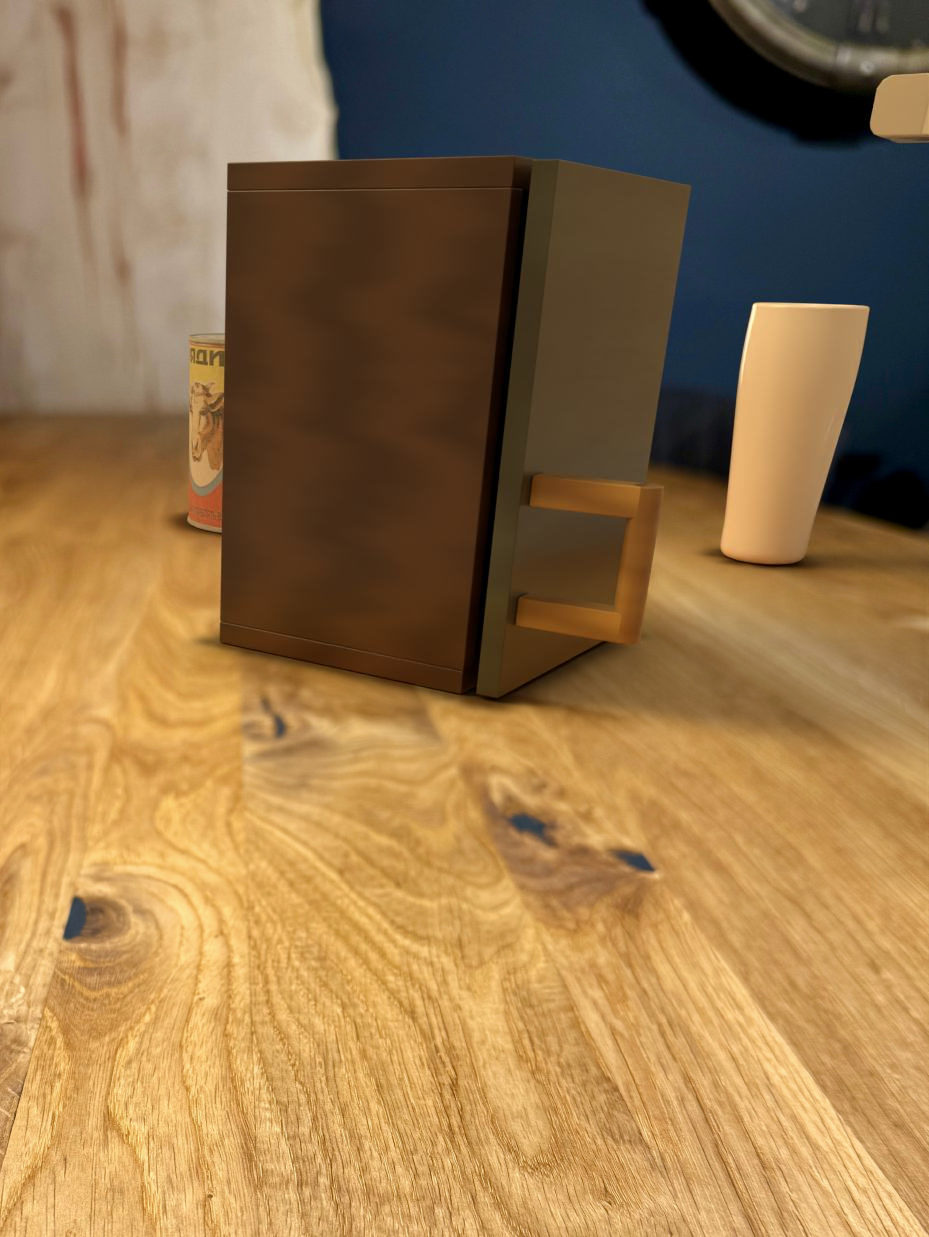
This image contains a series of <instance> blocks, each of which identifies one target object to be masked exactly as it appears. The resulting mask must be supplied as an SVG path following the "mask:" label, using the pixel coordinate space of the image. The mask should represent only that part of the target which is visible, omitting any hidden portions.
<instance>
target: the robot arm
mask: <svg viewBox="0 0 929 1237" xmlns="http://www.w3.org/2000/svg"><path fill="white" fill-rule="evenodd" d="M872 106H873V108H872V111H871V116H870V121H869V127H870V130H871V132H872V134H873V135H875V136H878V137H880V138H883V139H886V140H890V141H891V142H894V143H897V144H913V143H915V144H916V143H917V144H918V143H919V144H920V143H921V144H922V143H923V144H924V143H925V144H926V143H929V72H921V73H905V74H903V73H902V74H891V75H889V76H887V77H886V78H883V79H882V81H881V82H880V83H879V85H878V86H877V87H876V91H875V96H874V101H873V105H872Z"/></svg>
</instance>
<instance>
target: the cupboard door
mask: <svg viewBox="0 0 929 1237" xmlns="http://www.w3.org/2000/svg"><path fill="white" fill-rule="evenodd" d="M691 190H692V185H690V184H684V183H680V182H675V181H669V180H664V179H660V178H655V177H649V176H644V175H639V174H636V173H635V174H634V173H631V172H630V173H629V172H624V171H620V170H615V169H609V168H604V167H600V166H594V165H589V164H584V163H579V162H575V161H569V160H564V159H560V158H549V159H548V158H547V159H545V158H543V159H542V158H541V159H540V158H539V159H538V160H533V164H532V173H531V183H530V192H529V201H528V211H527V220H526V230H525V239H524V249H523V258H522V267H521V277H520V286H519V296H518V305H517V315H516V324H515V333H514V343H513V352H512V362H511V371H510V381H509V390H508V399H507V409H506V418H505V428H504V437H503V447H502V456H501V465H500V475H499V484H498V494H497V503H496V512H495V522H494V531H493V541H492V550H491V560H490V569H489V578H488V588H487V597H486V607H485V616H484V626H483V635H482V644H481V654H480V663H479V673H478V682H477V686H476V693H475V694H476V695H479V696H483V697H489V698H494V699H498V698H500V697H502V696H504V695H506V694H508V693H510V692H511V691H514V690H515V689H517V688H519V687H521V686H523V685H524V684H526V683H528V682H530V681H532V680H533V679H536V678H538V677H540V676H541V675H543V674H545V673H547V672H548V671H550V670H552V669H555V668H557V667H558V666H560V665H561V664H563V663H566V662H567V661H569V660H571V659H573V658H574V657H576V656H578V655H581V654H582V653H583V652H586V651H587V650H589V649H591V648H593V647H595V646H597V645H599V644H600V643H602V642H609V643H614V644H620V645H636V644H638V643H640V641H641V636H642V630H643V624H644V617H645V611H646V605H647V600H648V591H649V586H650V580H651V573H652V567H653V561H654V555H655V548H656V543H657V537H658V530H659V524H660V517H661V511H662V505H663V499H664V492H665V486H663V485H660V484H657V483H648V482H647V476H648V471H649V464H650V457H651V451H652V445H653V444H652V443H653V439H654V431H655V425H656V418H657V413H658V412H657V411H658V405H659V399H660V392H661V386H662V379H663V373H664V365H665V360H666V353H667V347H668V340H669V335H670V334H669V333H670V327H671V321H672V314H673V308H674V301H675V294H676V287H677V282H678V274H679V270H680V263H681V256H682V250H683V242H684V236H685V230H686V224H687V216H688V209H689V204H690V199H691V198H690V197H691Z"/></svg>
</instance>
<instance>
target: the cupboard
mask: <svg viewBox="0 0 929 1237" xmlns="http://www.w3.org/2000/svg"><path fill="white" fill-rule="evenodd" d="M533 160H539V159H537V158H532V157H526V156H520V155H515V154H513V155H512V154H511V155H509V154H507V155H475V156H474V155H473V156H472V155H470V156H435V157H434V156H433V157H432V156H431V157H429V156H428V157H394V158H358V159H357V158H355V159H319V160H317V159H316V160H315V159H314V160H312V159H311V160H279V161H277V160H276V161H275V160H274V161H273V160H272V161H239V162H235V161H234V162H227V165H226V166H227V167H226V190H227V191H226V230H225V231H226V234H225V235H226V240H225V290H224V292H225V296H224V298H225V299H224V300H225V301H224V333H225V351H224V412H223V473H222V533H220V534H221V537H220V539H221V543H220V549H221V550H220V600H219V601H220V602H219V603H220V605H219V606H220V607H219V621H220V622H219V643H222V644H227V645H231V646H232V645H233V646H236V647H240V648H245V649H250V650H253V651H254V650H255V651H260V652H265V653H268V654H273V655H277V656H283V657H287V658H291V659H296V660H301V661H305V662H311V663H314V664H320V665H325V666H328V667H333V668H337V669H343V670H348V671H352V672H357V673H361V674H366V675H370V676H375V677H380V678H383V679H384V678H385V679H389V680H395V681H398V682H402V683H403V682H404V683H407V684H412V685H417V686H420V687H421V686H422V687H427V688H431V689H436V690H441V691H444V692H449V693H453V694H458V695H461V694H463V693H465V692H469V691H470V690H472V689H474V688H477V682H478V673H479V663H480V654H481V644H482V635H483V626H484V616H485V607H486V597H487V588H488V578H489V569H490V560H491V550H492V541H493V531H494V522H495V512H496V503H497V494H498V484H499V475H500V465H501V456H502V447H503V437H504V428H505V418H506V409H507V399H508V390H509V381H510V371H511V362H512V352H513V343H514V333H515V324H516V315H517V305H518V296H519V286H520V277H521V267H522V258H523V249H524V239H525V230H526V220H527V211H528V201H529V192H530V183H531V173H532V164H533Z"/></svg>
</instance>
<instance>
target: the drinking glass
mask: <svg viewBox="0 0 929 1237" xmlns="http://www.w3.org/2000/svg"><path fill="white" fill-rule="evenodd" d="M870 309H871V308H870V307H869V306H868V305H856V304H832V303H803V302H802V303H801V302H754V303H753V304H752V306H751V310H750V315H749V318H748V323H747V328H746V333H745V337H744V342H743V347H742V353H741V360H740V365H739V372H738V378H737V379H738V380H737V389H736V400H735V410H734V420H733V431H732V442H731V451H730V452H731V453H730V462H729V474H728V484H727V485H728V486H727V493H726V494H727V495H726V501H725V502H726V504H725V511H724V512H725V513H724V521H723V526H722V531H721V537H720V544H719V546H720V551H721V552H722V554H723V556H726V557H728V558H730V559H733V560H734V561H735V560H736V561H740V562H745V563H750V564H759V565H790V564H795V563H798V562H800V561H801V560H803V559H804V558H805V557H806V555H807V553H808V549H809V546H810V541H811V535H812V531H813V527H814V524H815V523H814V522H815V519H816V515H817V512H818V509H819V505H820V502H821V500H822V496H823V493H824V489H825V485H826V481H827V478H828V474H829V471H830V468H831V465H832V461H833V459H834V456H835V455H834V454H835V452H836V448H837V445H838V441H839V437H840V435H841V432H842V428H843V424H844V421H845V418H846V415H847V411H848V408H849V405H850V402H851V399H852V398H851V397H852V394H853V391H854V388H855V385H856V384H855V383H856V380H857V376H858V372H859V367H860V363H861V360H862V355H863V349H864V344H865V338H866V333H867V327H868V320H869V314H870Z"/></svg>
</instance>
